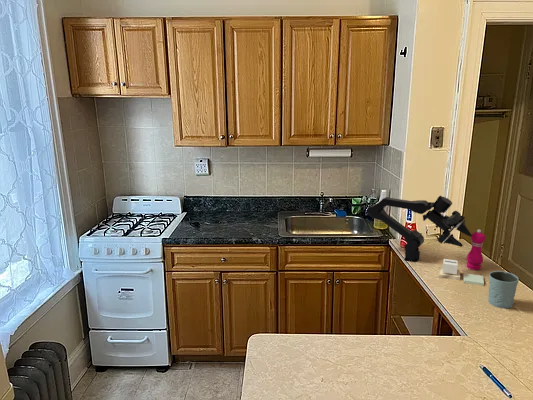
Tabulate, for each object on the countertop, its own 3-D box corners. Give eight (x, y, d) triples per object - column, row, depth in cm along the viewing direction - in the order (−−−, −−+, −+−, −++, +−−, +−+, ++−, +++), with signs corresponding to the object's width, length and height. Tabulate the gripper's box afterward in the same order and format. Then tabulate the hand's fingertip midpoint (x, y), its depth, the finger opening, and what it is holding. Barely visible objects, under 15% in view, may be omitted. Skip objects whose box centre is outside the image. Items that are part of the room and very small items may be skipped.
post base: (438, 277, 183) (439, 266, 182) (439, 269, 191) (440, 259, 190) (459, 280, 179) (461, 269, 178) (459, 272, 187) (460, 261, 186)
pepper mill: (483, 271, 188) (490, 232, 182) (467, 270, 189) (473, 232, 183) (479, 264, 195) (485, 227, 188) (463, 263, 196) (469, 226, 190)
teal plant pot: (513, 299, 161) (516, 273, 158) (516, 311, 152) (520, 283, 149) (485, 295, 165) (488, 269, 162) (486, 306, 157) (490, 279, 154)
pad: (463, 282, 177) (463, 280, 177) (463, 275, 184) (463, 273, 184) (483, 285, 174) (483, 283, 174) (482, 277, 181) (482, 276, 181)
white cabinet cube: (442, 272, 183) (443, 263, 182) (442, 267, 188) (443, 258, 187) (456, 274, 181) (457, 265, 180) (456, 269, 186) (457, 260, 185)
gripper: (437, 219, 180) (467, 242, 174) (456, 200, 190) (485, 221, 184) (426, 233, 189) (454, 255, 183) (444, 213, 198) (471, 234, 192)
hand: (466, 240), depth 185 cm, fingers open, 9 cm apart
